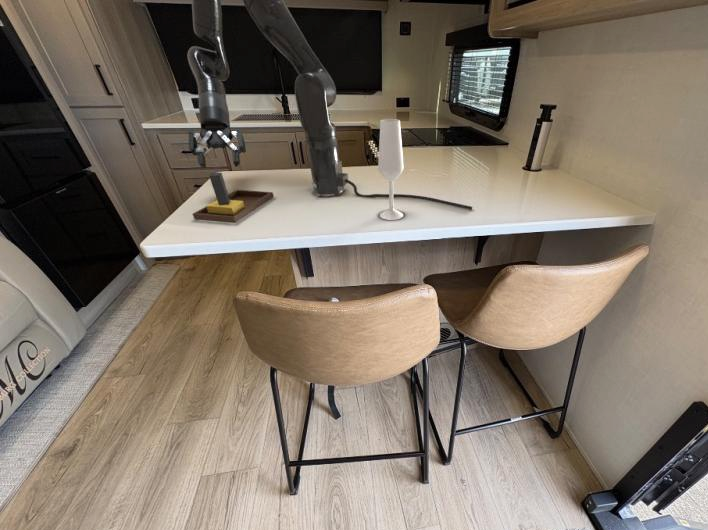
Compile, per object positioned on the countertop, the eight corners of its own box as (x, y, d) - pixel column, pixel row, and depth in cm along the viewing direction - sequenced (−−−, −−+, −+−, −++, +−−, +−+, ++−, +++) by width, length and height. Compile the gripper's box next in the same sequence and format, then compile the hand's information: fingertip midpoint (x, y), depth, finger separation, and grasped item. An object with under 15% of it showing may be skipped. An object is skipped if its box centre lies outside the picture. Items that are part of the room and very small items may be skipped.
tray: (274, 198, 105) (272, 192, 104) (236, 224, 89) (233, 217, 88) (238, 196, 107) (236, 189, 106) (195, 221, 91) (192, 213, 90)
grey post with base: (245, 209, 96) (234, 172, 90) (234, 216, 92) (222, 177, 85) (221, 207, 97) (208, 170, 91) (209, 214, 93) (195, 176, 87)
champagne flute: (401, 210, 97) (402, 118, 83) (404, 219, 92) (405, 122, 77) (379, 211, 96) (375, 118, 82) (380, 220, 91) (377, 123, 77)
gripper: (181, 105, 90) (186, 160, 88) (236, 103, 93) (242, 156, 91) (193, 124, 97) (198, 175, 95) (244, 122, 100) (250, 171, 98)
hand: (219, 166), depth 93 cm, fingers open, 8 cm apart
